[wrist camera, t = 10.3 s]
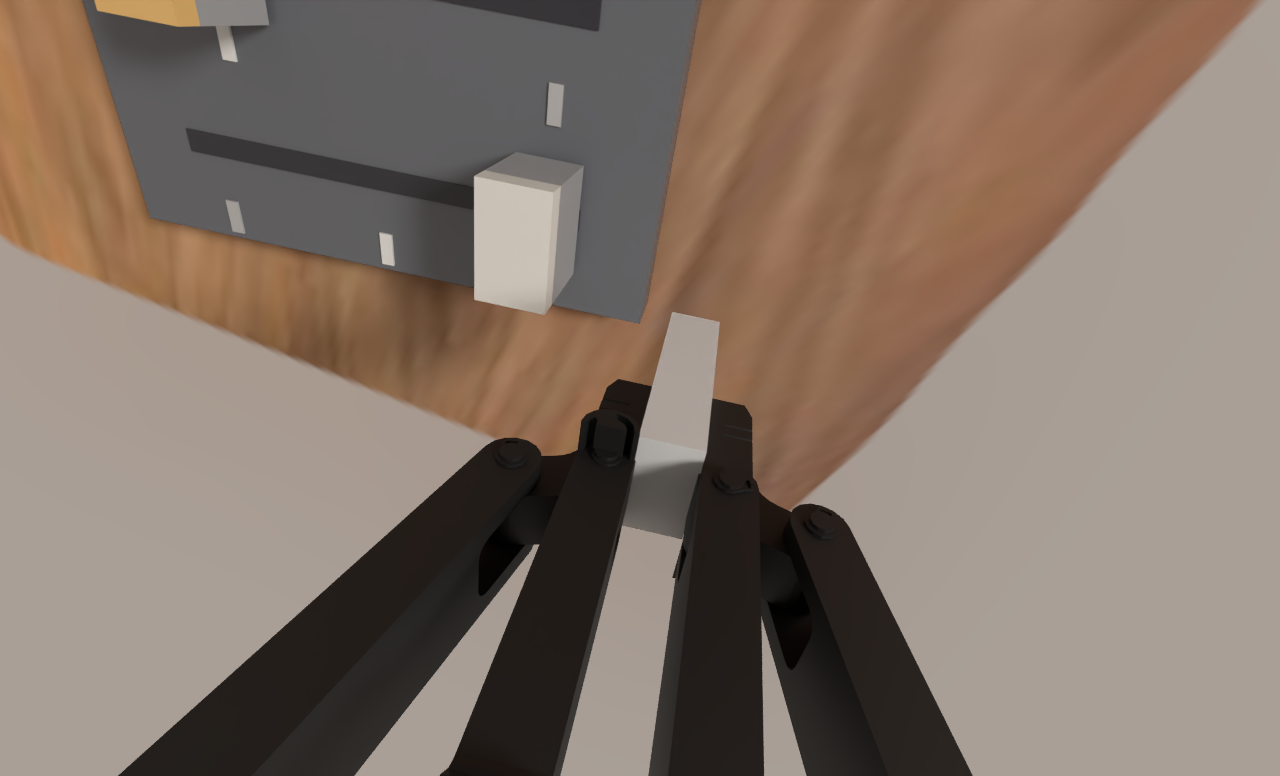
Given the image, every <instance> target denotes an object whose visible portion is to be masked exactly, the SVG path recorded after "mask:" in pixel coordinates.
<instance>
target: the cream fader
mask: <svg viewBox="0 0 1280 776" xmlns="http://www.w3.org/2000/svg"><path fill="white" fill-rule="evenodd" d="M583 169H584V166H583V165H578V164H573V163H568V162H563V161H558V160H553V159H549V158H544V157H539V156H534V155H529V154H524V153H519V152H515V153H514V154H512V155H510V156H508V157H507V158H505V159H503V160H501V161H500V162H498V163H496V164H494V165H493V166H491V167H489V168H487V169H486V170H484V171H482V172H480V173H479V174H477V175H475V176H474V300H478V301H483V302H487V303H492V304H496V305H501V306H506V307H510V308H515V309H519V310H524V311H529V312H533V313H538V314H542V315H545V314H546V312H547V311H548V309H549V308H550V307H551V305H552V304H553V302H554V301H555V299H556V298H557V297H558V295H559V294H560V292H561V291H562V289H563V288H564V286H565V285H566V284H567V282H568V281H569V279H570V278H571V276H572V275H573V271H574V261H575V251H576V241H577V231H578V220H579V210H580V200H581V190H582V180H583Z"/></svg>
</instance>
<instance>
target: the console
mask: <svg viewBox="0 0 1280 776" xmlns="http://www.w3.org/2000/svg"><path fill="white" fill-rule="evenodd" d="M82 1H83V4H84V8H85V11H86V14H87V17H88V20H89V24H90V27H91V30H92V33H93V36H94V39H95V43H96V46H97V49H98V52H99V55H100V59H101V62H102V65H103V68H104V71H105V74H106V78H107V81H108V84H109V87H110V90H111V94H112V97H113V100H114V103H115V106H116V110H117V113H118V116H119V119H120V122H121V125H122V129H123V132H124V135H125V138H126V141H127V145H128V148H129V151H130V154H131V157H132V160H133V164H134V167H135V170H136V173H137V176H138V180H139V183H140V186H141V189H142V192H143V196H144V199H145V202H146V205H147V208H148V211H149V215H150V218H154V219H158V220H163V221H167V222H172V223H177V224H181V225H186V226H191V227H195V228H200V229H204V230H209V231H214V232H218V233H223V234H228V235H232V236H237V237H241V238H246V239H251V240H255V241H260V242H264V243H269V244H274V245H278V246H283V247H288V248H292V249H297V250H301V251H306V252H311V253H315V254H320V255H325V256H329V257H334V258H338V259H343V260H348V261H352V262H357V263H361V264H366V265H371V266H375V267H380V268H385V269H389V270H394V271H398V272H403V273H408V274H412V275H417V276H422V277H426V278H431V279H435V280H440V281H445V282H449V283H454V284H458V285H463V286H468V287H472V288H474V176H475V175H477V174H479V173H480V172H482V171H484V170H486V169H487V168H489V167H491V166H493V165H494V164H496V163H498V162H500V161H501V160H503V159H505V158H507V157H508V156H510V155H512V154H514V153H515V152H519V153H524V154H529V155H534V156H539V157H544V158H549V159H553V160H558V161H563V162H568V163H573V164H578V165H583V166H584V169H583V180H582V190H581V200H580V210H579V220H578V231H577V241H576V251H575V261H574V271H573V275H572V276H571V278H570V279H569V281H568V282H567V284H566V285H565V286H564V288H563V289H562V291H561V292H560V294H559V295H558V297H557V298H556V299H555V301H554V302H553V304H552V305H555V306H560V307H565V308H569V309H574V310H579V311H583V312H588V313H592V314H597V315H602V316H606V317H611V318H616V319H620V320H625V321H629V322H634V323H639V324H640V321H641V318H642V316H643V313H644V310H645V307H646V305H647V301H648V295H649V289H650V284H651V278H652V273H653V267H654V261H655V256H656V250H657V245H658V239H659V233H660V228H661V222H662V217H663V211H664V205H665V200H666V194H667V189H668V183H669V177H670V172H671V166H672V161H673V155H674V149H675V144H676V138H677V133H678V127H679V121H680V116H681V110H682V105H683V99H684V93H685V88H686V82H687V77H688V71H689V65H690V60H691V54H692V49H693V43H694V37H695V32H696V26H697V21H698V15H699V9H700V4H701V0H265V3H266V8H267V14H268V20H269V25H249V26H188V27H177V26H172V25H167V24H162V23H157V22H152V21H147V20H142V19H137V18H132V17H127V16H122V15H116V14H111V13H106V12H101V11H97V8H96V4H95V1H94V0H82Z"/></svg>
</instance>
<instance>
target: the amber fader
mask: <svg viewBox="0 0 1280 776" xmlns="http://www.w3.org/2000/svg"><path fill="white" fill-rule="evenodd" d="M94 1H95V4H96V8H97V11H101V12H106V13H111V14H116V15H122V16H127V17H132V18H137V19H142V20H147V21H152V22H157V23H162V24H167V25H172V26H177V27H188V26H249V25H269V20H268V14H267V8H266V3H265V0H94Z"/></svg>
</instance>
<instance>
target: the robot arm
mask: <svg viewBox="0 0 1280 776" xmlns="http://www.w3.org/2000/svg"><path fill="white" fill-rule="evenodd" d="M719 325H720V322H717V321H712V320H707V319H703V318H698V317H693V316H689V315H684V314H679V313H675V312H672V315H671V319H670V323H669V326H668V330H667V334H666V337H665V341H664V345H663V349H662V352H661V356H660V360H659V363H658V367H657V371H656V375H655V378H654V382H653V386H648V385H643V384H638V383H634V382H629V381H625V380H620V379H618V380H616V381H615V382H614V383H612V384H611V385H610V386H608V387H607V389H606V392H605V394H604V397H603V400H602V402H601V404H600V407H599V409H598V410H595V411H593V412H591V413H588V414H586V416H585V417H584V418H583V419H582V420H581V428H580V436H579V444H578V450H577V451H574V452H572V453H570V454H566V455H559V456H541V452H540V451H539V449H538V448H537V446H536V445H534V444H532V443H531V442H529V441H527V440H523V439H519V438H503V439H499V440H495V441H493V442H491V443H490V444H488V445H486V446H485V447H484V448H483V449H482V450H481V451H479V452H478V453H477V454H476V455H475V456H474V457H473V458H472V459H470V460H469V461H468V462H467V463H466V464H465V465H464V466H463V467H462V468H461V469H459V470H458V471H457V472H456V473H455V474H454V475H453V476H452V477H451V478H449V479H448V480H447V481H446V482H445V483H444V484H443V485H442V486H440V487H439V488H438V489H437V490H436V491H435V492H434V493H433V494H431V495H430V496H429V497H428V498H427V499H426V500H425V501H424V502H423V503H422V504H420V505H419V506H418V507H417V508H416V509H415V510H414V511H413V512H411V513H410V514H409V515H408V516H407V517H406V518H405V519H404V520H403V521H401V522H400V523H399V524H398V525H397V526H396V527H395V528H394V529H393V530H391V531H390V532H389V533H388V534H387V535H386V536H385V537H384V538H382V539H381V540H380V541H379V542H378V543H377V544H376V545H375V546H374V547H372V548H371V549H370V550H369V551H368V552H367V553H366V554H365V555H363V556H362V557H361V558H360V559H359V560H358V561H357V562H356V563H355V564H354V565H352V566H351V567H350V568H349V569H348V570H347V571H346V572H345V573H343V574H342V575H341V576H340V577H339V578H338V579H337V580H336V581H335V582H334V583H332V584H331V585H330V586H329V587H328V588H327V589H326V590H325V591H323V592H322V593H321V594H320V595H319V596H318V597H317V598H316V599H315V600H313V601H312V602H311V603H310V604H309V605H308V606H307V607H306V608H305V609H303V610H302V611H301V612H300V613H299V614H298V615H297V616H296V617H295V618H293V619H292V620H291V621H290V622H289V623H288V624H287V625H285V626H284V627H283V628H282V629H281V630H280V631H279V632H278V633H277V634H276V635H274V636H273V637H272V638H271V639H270V640H269V641H268V642H267V643H265V644H264V645H263V646H262V647H261V648H260V649H259V650H258V651H257V652H255V654H253V655H252V656H251V657H250V658H249V659H248V660H246V661H245V662H244V663H243V664H242V665H241V666H240V667H239V668H238V669H236V670H235V671H234V672H233V673H232V674H231V675H230V676H229V677H228V678H226V680H224V681H223V682H222V683H221V684H220V685H219V686H218V687H216V688H215V689H214V690H213V691H212V692H211V693H210V694H209V695H208V696H206V697H205V698H204V699H203V700H202V701H201V702H200V703H199V704H198V705H196V706H195V707H194V708H193V709H192V710H191V711H190V712H189V713H187V715H185V716H184V717H183V718H182V719H181V720H180V721H179V722H177V723H176V724H175V725H174V726H173V727H172V728H171V729H170V730H168V731H167V732H166V733H165V734H164V735H163V736H162V737H161V738H160V739H159V740H157V741H156V742H155V743H154V744H153V745H152V746H151V747H150V748H148V749H147V750H146V751H145V752H144V753H143V754H142V755H141V756H140V757H139V758H137V759H136V760H135V761H134V762H133V763H132V764H131V765H130V766H128V767H127V768H126V769H125V770H124V771H123V772H122V773H121V774H119V775H118V776H354V775H355V774H356V773H357V771H358V770H359V769H360V768H361V766H362V765H363V764H364V762H365V761H366V760H367V759H368V757H369V756H370V755H371V754H372V752H373V751H374V750H375V749H376V747H377V746H378V745H379V743H380V742H381V741H382V740H383V738H384V737H385V736H386V735H387V733H388V732H389V731H390V729H391V728H392V727H393V726H394V724H395V723H396V721H398V719H399V718H400V717H401V715H402V714H403V713H404V712H405V710H406V709H407V708H408V706H409V705H410V704H411V703H412V701H413V700H414V699H415V698H416V696H417V695H418V694H419V692H420V691H421V690H422V689H423V687H424V686H425V685H426V684H427V682H428V681H429V680H430V678H431V677H432V676H433V675H434V673H435V672H436V671H437V670H438V668H439V667H440V666H441V664H442V663H443V662H444V661H445V659H446V658H447V657H448V656H449V654H450V653H451V652H452V650H453V649H454V648H455V647H456V645H457V644H458V643H459V642H460V640H461V639H462V638H463V636H464V635H465V634H466V633H467V631H468V630H469V629H470V628H471V626H472V625H473V624H474V622H475V621H476V620H477V619H478V617H479V616H480V615H481V614H482V612H483V611H484V610H485V608H486V607H487V606H488V605H489V603H490V602H491V601H492V599H493V598H494V597H495V596H496V594H497V593H498V592H499V591H500V589H501V588H502V587H503V585H504V584H505V583H506V582H507V580H508V579H509V578H510V577H511V575H512V574H513V573H514V571H515V570H516V569H517V567H518V566H519V565H520V564H521V563H522V561H523V560H524V559H525V557H526V556H527V555H528V554H529V552H530V551H531V549H532V547H533V545H534V544H540V545H539V547H538V550H537V552H536V555H535V557H534V560H533V562H532V565H531V567H530V570H529V572H528V575H527V577H526V580H525V582H524V585H523V587H522V590H521V592H520V595H519V597H518V600H517V602H516V605H515V607H514V610H513V612H512V614H511V617H510V620H509V622H508V625H507V627H506V629H505V632H504V634H503V637H502V640H501V642H500V644H499V647H498V650H497V652H496V655H495V657H494V659H493V662H492V664H491V667H490V669H489V672H488V675H487V677H486V679H485V682H484V684H483V687H482V689H481V692H480V694H479V697H478V699H477V702H476V704H475V707H474V709H473V712H472V714H471V717H470V719H469V722H468V724H467V727H466V729H465V732H464V734H463V737H462V739H461V742H460V744H459V747H458V749H457V752H456V754H455V756H454V759H453V761H452V762H451V764H450V766H449V768H448V769H446V770H445V771H444V772H443V773H441V774H440V776H560V774H561V770H562V766H563V762H564V758H565V754H566V750H567V746H568V742H569V738H570V734H571V730H572V726H573V722H574V718H575V714H576V710H577V706H578V702H579V698H580V694H581V690H582V686H583V682H584V678H585V674H586V670H587V666H588V662H589V658H590V654H591V650H592V646H593V642H594V638H595V634H596V630H597V626H598V622H599V618H600V614H601V610H602V606H603V602H604V598H605V594H606V590H607V586H608V582H609V578H610V574H611V570H612V566H613V562H614V558H615V554H616V550H617V546H618V542H619V537H620V532H621V527H622V525H623V526H628V527H632V528H636V529H640V530H645V531H649V532H653V533H658V534H662V535H666V536H671V537H675V538H679V539H682V537H683V534H684V537H683V543H682V546H681V550H680V553H679V556H678V560H677V564H676V567H675V571H674V574H673V578H676V579H675V586H674V594H673V601H672V608H671V615H670V623H669V630H668V637H667V645H666V652H665V660H664V667H663V674H662V681H661V688H660V695H659V703H658V711H657V717H656V725H655V732H654V739H653V747H652V754H651V761H650V768H649V776H764V748H763V747H764V746H763V694H762V693H763V691H762V637H761V636H762V631H761V616H762V620H763V623H764V627H765V630H766V634H767V637H768V641H769V644H770V648H771V652H772V655H773V658H774V662H775V666H776V669H777V673H778V676H779V679H780V683H781V687H782V690H783V694H784V697H785V701H786V705H787V708H788V712H789V715H790V719H791V722H792V725H793V729H794V732H795V736H796V740H797V743H798V747H799V750H800V754H801V758H802V761H803V765H804V768H805V772H806V775H807V776H972V774H971V771H970V769H969V767H968V765H967V764H966V761H965V759H964V757H963V755H962V753H961V751H960V749H959V748H958V745H957V743H956V741H955V739H954V737H953V735H952V733H951V731H950V729H949V727H948V725H947V723H946V721H945V719H944V717H943V715H942V713H941V711H940V709H939V707H938V705H937V703H936V701H935V699H934V697H933V695H932V693H931V691H930V689H929V687H928V685H927V683H926V681H925V679H924V677H923V675H922V673H921V671H920V669H919V667H918V665H917V663H916V661H915V659H914V657H913V655H912V653H911V651H910V649H909V647H908V645H907V643H906V641H905V639H904V636H903V635H902V632H901V630H900V628H899V626H898V624H897V622H896V620H895V618H894V616H893V614H892V612H891V610H890V608H889V606H888V604H887V602H886V600H885V598H884V596H883V594H882V592H881V590H880V588H879V586H878V584H877V582H876V580H875V578H874V576H873V574H872V572H871V570H870V568H869V566H868V564H867V562H866V560H865V558H864V556H863V554H862V552H861V550H860V548H859V546H858V544H857V542H856V540H855V538H854V536H853V534H852V532H851V530H850V528H849V526H848V525H847V523H846V522H845V521H844V519H843V518H841V517H840V516H839V515H837V514H836V513H835V512H833V511H832V510H829V509H828V508H825V507H823V506H819V505H815V504H803V505H799V506H797V507H796V508H794V509H793V511H792V512H790V511H788V510H786V509H784V508H782V507H779V506H777V505H776V504H774V503H772V502H770V501H769V500H768V499H766V498H765V497H764V496H763V495H762V494H761V493H760V492H759V488H758V485H757V482H756V481H755V480H754V478H753V463H752V417H751V415H750V414H749V412H748V410H747V409H746V407H745V406H744V405H739V404H735V403H730V402H726V401H721V400H717V399H712V395H713V385H714V375H715V365H716V355H717V345H718V335H719Z"/></svg>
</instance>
